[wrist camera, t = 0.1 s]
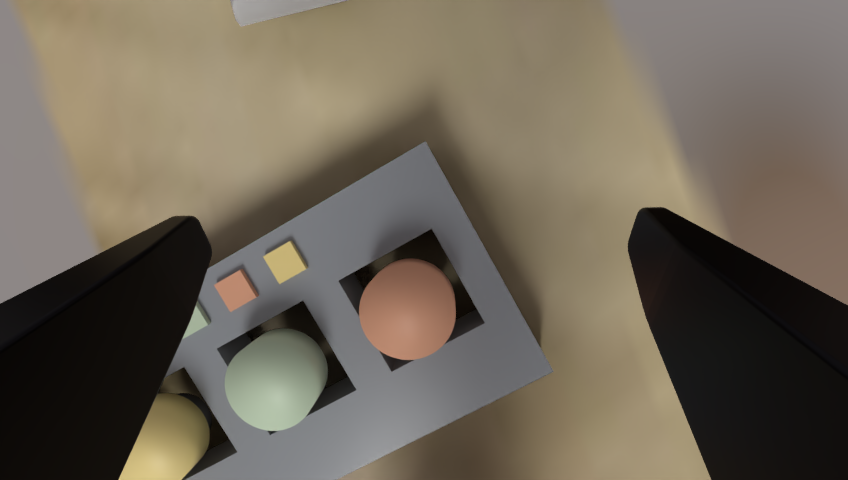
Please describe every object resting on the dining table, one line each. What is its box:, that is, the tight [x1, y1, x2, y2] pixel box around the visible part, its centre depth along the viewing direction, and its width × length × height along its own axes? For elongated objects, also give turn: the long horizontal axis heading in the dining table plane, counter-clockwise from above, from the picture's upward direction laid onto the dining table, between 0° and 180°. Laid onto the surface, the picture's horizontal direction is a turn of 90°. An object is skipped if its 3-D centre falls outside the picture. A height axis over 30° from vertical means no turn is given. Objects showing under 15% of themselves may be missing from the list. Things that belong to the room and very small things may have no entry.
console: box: [165, 141, 554, 480], centre depth 23 cm, size 13×24×3 cm, turn 119°
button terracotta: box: [359, 258, 456, 360], centre depth 21 cm, size 4×4×3 cm
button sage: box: [225, 328, 328, 431], centre depth 22 cm, size 4×4×3 cm
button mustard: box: [119, 393, 212, 480], centre depth 22 cm, size 4×4×3 cm
